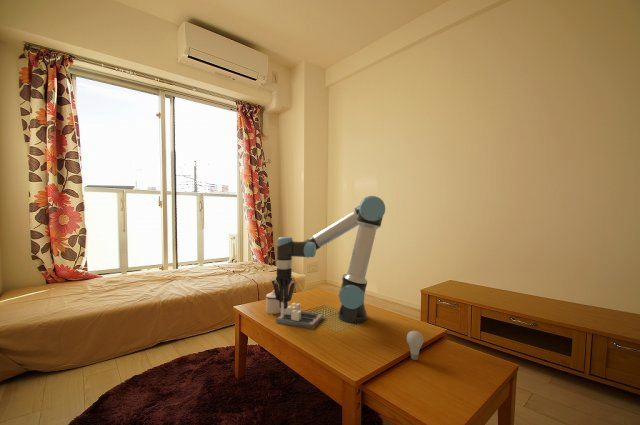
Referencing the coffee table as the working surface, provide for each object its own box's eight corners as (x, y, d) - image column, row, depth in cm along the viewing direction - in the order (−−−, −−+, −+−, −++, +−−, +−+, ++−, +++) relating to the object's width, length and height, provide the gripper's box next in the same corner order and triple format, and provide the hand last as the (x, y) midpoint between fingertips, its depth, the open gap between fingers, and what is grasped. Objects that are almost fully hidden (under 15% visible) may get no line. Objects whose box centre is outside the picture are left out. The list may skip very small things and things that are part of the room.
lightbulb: (409, 354, 110) (410, 326, 110) (425, 359, 106) (426, 330, 106) (403, 360, 106) (404, 331, 106) (419, 366, 102) (420, 336, 102)
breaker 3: (301, 319, 139) (301, 310, 139) (298, 321, 136) (298, 312, 136) (293, 317, 140) (293, 309, 140) (291, 319, 137) (291, 311, 137)
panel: (323, 318, 146) (323, 312, 146) (312, 329, 132) (313, 323, 132) (289, 312, 153) (289, 307, 153) (275, 322, 139) (275, 316, 139)
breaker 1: (296, 314, 145) (296, 306, 145) (293, 316, 142) (293, 307, 142) (289, 313, 146) (289, 305, 146) (286, 314, 144) (286, 306, 144)
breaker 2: (300, 311, 150) (300, 303, 150) (297, 312, 147) (297, 304, 147) (293, 310, 151) (293, 302, 151) (290, 311, 148) (291, 303, 148)
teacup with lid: (285, 311, 155) (285, 290, 155) (271, 315, 148) (272, 293, 148) (272, 306, 163) (272, 286, 163) (259, 309, 156) (259, 289, 156)
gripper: (299, 267, 142) (298, 313, 142) (276, 265, 146) (275, 310, 146) (292, 270, 135) (291, 319, 135) (269, 267, 139) (268, 315, 139)
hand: (283, 314), depth 140 cm, fingers closed
